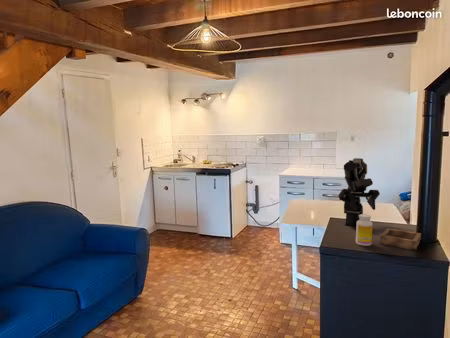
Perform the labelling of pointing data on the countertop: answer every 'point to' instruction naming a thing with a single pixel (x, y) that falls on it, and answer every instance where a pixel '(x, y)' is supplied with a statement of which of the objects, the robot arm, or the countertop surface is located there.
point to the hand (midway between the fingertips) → (365, 209)
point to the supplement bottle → (364, 230)
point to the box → (400, 239)
